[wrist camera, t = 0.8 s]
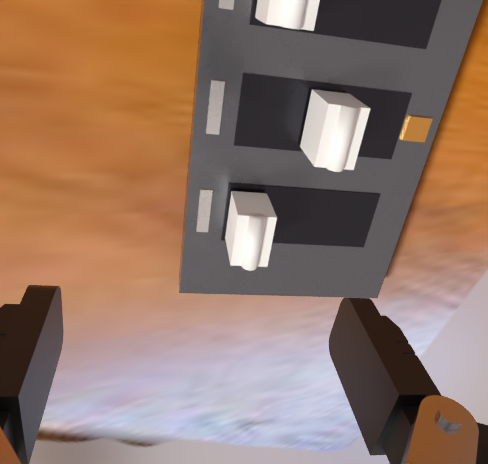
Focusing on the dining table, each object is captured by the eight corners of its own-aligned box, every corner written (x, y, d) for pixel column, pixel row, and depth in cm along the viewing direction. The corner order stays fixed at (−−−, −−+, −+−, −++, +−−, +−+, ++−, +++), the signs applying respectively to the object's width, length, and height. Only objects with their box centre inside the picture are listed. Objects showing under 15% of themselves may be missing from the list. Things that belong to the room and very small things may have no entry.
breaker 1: (231, 190, 29) (239, 219, 26) (266, 193, 30) (278, 221, 27) (225, 237, 31) (231, 270, 28) (258, 239, 32) (268, 271, 28)
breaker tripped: (311, 89, 27) (331, 106, 24) (349, 93, 27) (374, 111, 24) (300, 146, 29) (316, 170, 25) (335, 149, 29) (356, 173, 26)
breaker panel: (217, -195, 22) (222, -210, 20) (506, -128, 25) (533, -136, 23) (179, 277, 35) (179, 294, 33) (368, 283, 38) (378, 299, 36)
